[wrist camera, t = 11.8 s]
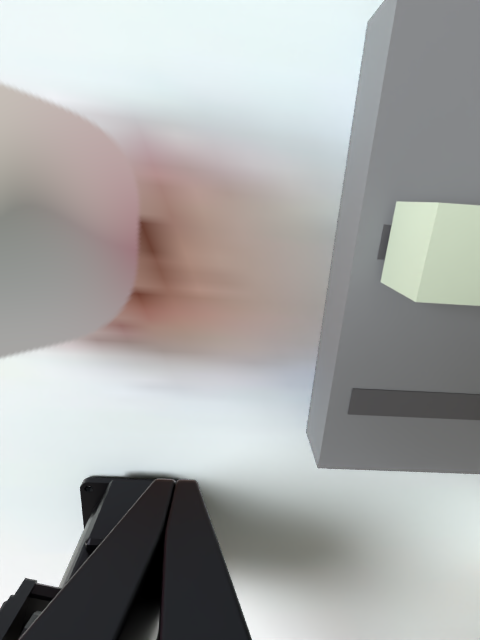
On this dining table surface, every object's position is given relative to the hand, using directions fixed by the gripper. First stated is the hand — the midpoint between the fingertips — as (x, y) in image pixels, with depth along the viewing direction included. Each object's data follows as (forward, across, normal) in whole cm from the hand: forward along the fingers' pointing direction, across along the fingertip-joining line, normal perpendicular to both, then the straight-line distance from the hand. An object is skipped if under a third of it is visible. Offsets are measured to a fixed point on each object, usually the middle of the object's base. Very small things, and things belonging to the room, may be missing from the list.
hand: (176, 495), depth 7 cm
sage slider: (+9, -9, -4) cm, 13 cm away
